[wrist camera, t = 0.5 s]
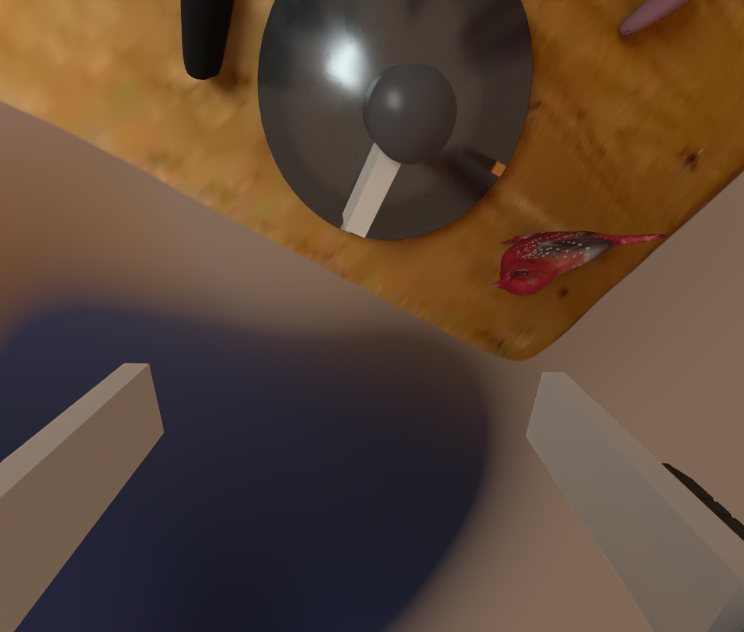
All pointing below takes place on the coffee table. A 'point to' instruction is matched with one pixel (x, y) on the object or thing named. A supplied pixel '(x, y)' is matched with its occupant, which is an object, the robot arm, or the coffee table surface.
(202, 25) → the electric trimmer
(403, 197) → the dial plate
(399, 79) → the dial
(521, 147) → the coffee table surface
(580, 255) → the decorative bird figurine
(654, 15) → the video game controller
